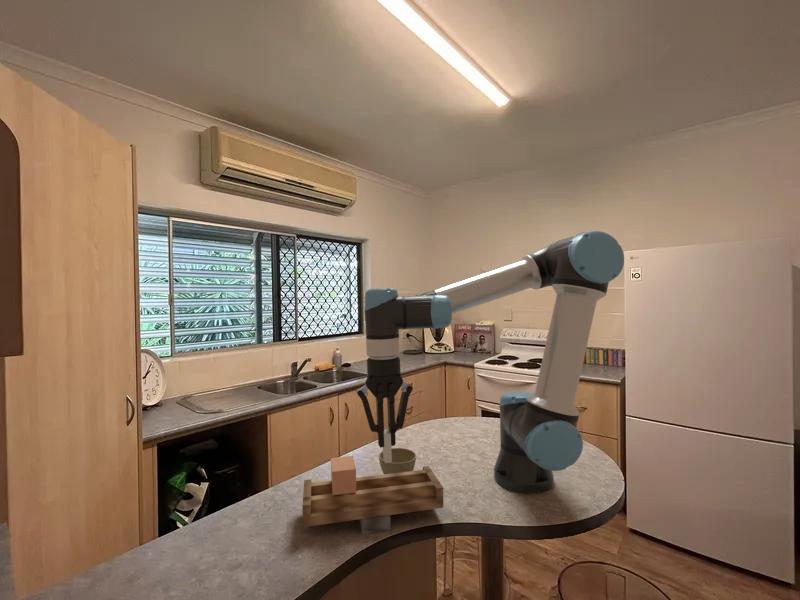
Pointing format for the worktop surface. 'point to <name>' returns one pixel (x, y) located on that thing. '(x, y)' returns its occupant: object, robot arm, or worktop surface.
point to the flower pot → (398, 461)
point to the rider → (343, 475)
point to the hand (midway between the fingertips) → (387, 460)
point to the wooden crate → (372, 499)
